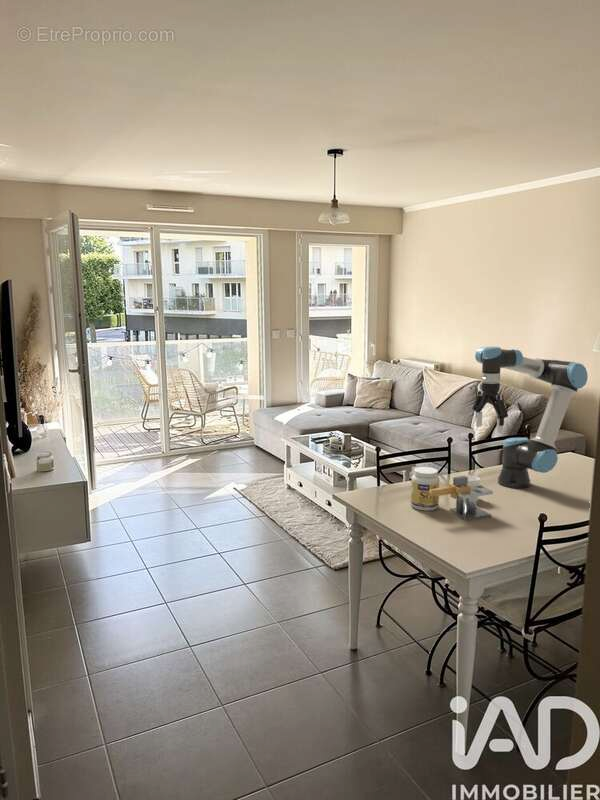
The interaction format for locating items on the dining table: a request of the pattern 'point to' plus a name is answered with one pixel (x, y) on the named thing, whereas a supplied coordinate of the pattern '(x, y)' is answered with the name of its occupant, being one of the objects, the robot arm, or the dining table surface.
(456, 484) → the wedge pin
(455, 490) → the wooden handled frame
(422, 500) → the supplement tub
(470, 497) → the ball joint plate
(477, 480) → the cup
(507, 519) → the dining table surface
